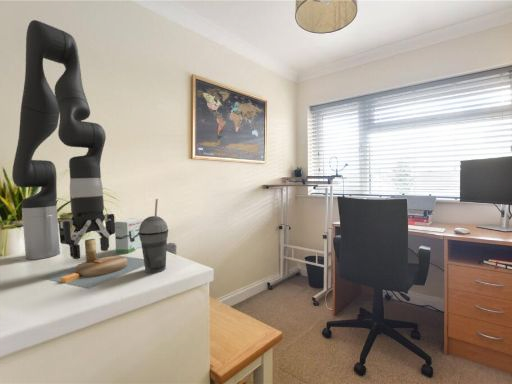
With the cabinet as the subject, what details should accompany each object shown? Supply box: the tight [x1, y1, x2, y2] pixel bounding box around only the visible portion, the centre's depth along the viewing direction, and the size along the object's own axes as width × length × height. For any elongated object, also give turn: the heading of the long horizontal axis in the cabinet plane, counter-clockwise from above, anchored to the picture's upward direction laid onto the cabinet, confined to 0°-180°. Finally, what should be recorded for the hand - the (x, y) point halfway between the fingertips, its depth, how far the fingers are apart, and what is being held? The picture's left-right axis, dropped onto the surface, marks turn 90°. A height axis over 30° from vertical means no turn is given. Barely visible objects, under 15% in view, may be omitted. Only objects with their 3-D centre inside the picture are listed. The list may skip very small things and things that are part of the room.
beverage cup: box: [138, 198, 169, 274], centre depth 66 cm, size 7×7×20 cm
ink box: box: [114, 218, 144, 255], centre depth 88 cm, size 9×5×12 cm, turn 168°
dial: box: [74, 238, 127, 277], centre depth 69 cm, size 12×12×8 cm
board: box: [39, 254, 145, 289], centre depth 69 cm, size 19×20×2 cm
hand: (91, 254), depth 71 cm, fingers open, 7 cm apart
